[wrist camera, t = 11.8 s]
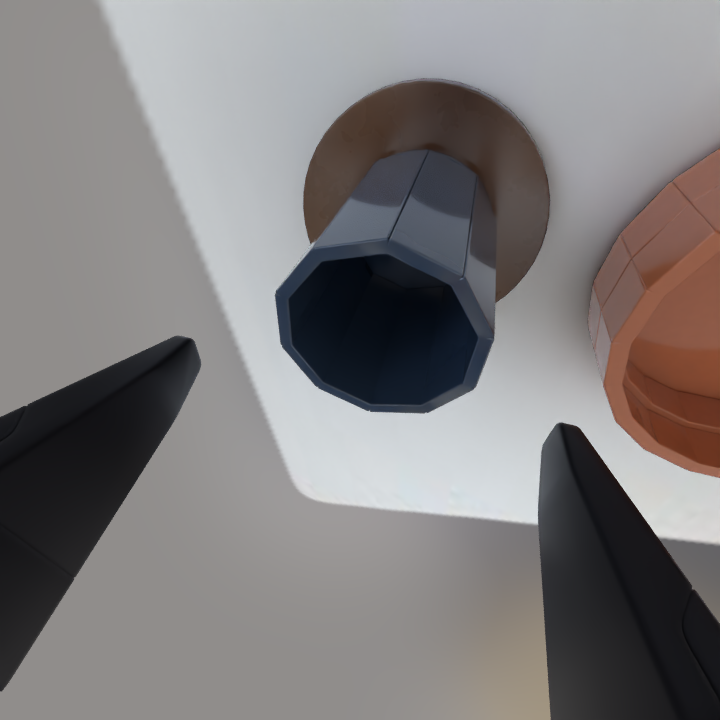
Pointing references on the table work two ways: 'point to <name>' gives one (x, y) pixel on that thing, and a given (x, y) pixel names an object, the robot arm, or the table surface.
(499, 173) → the coaster
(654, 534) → the robot arm
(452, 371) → the cup
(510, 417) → the table surface
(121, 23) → the table surface
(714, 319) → the bowl
